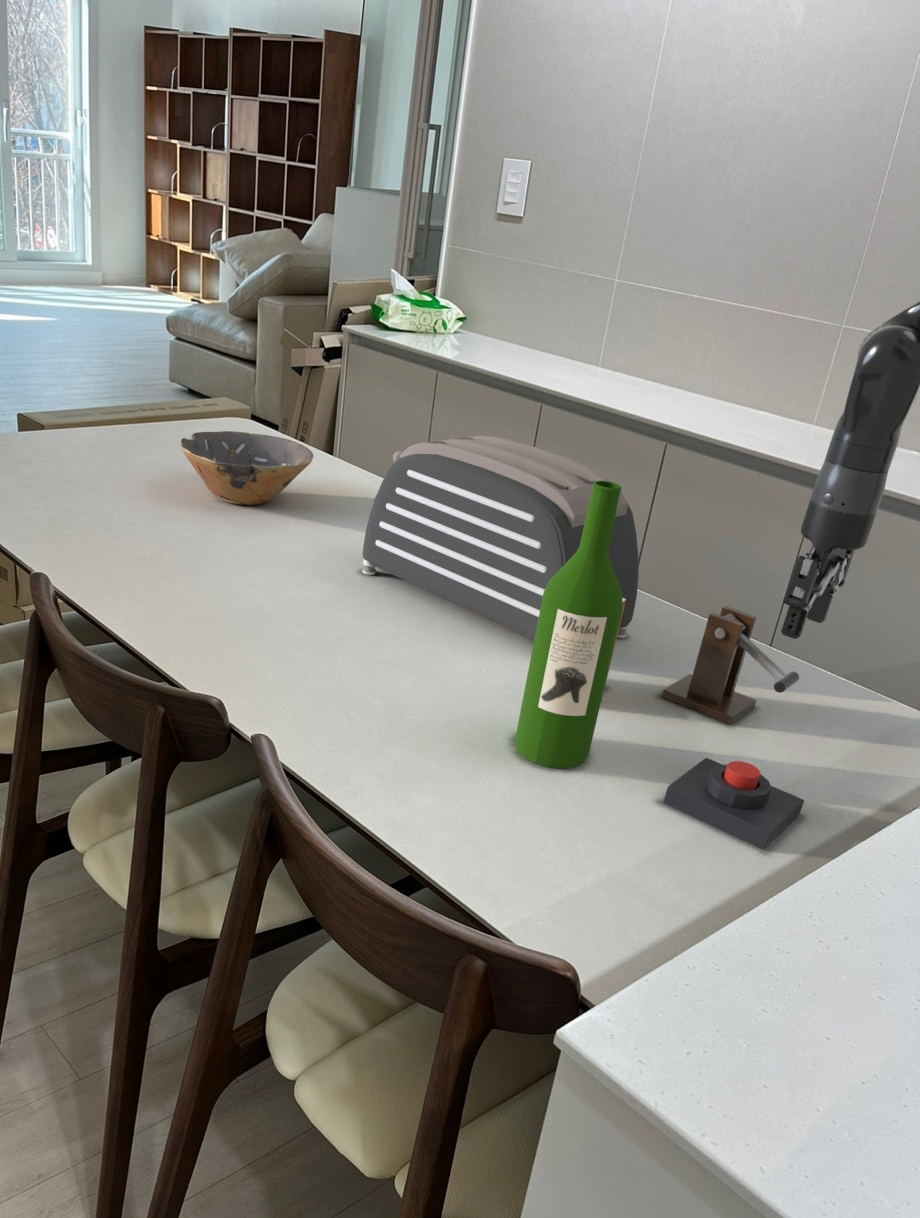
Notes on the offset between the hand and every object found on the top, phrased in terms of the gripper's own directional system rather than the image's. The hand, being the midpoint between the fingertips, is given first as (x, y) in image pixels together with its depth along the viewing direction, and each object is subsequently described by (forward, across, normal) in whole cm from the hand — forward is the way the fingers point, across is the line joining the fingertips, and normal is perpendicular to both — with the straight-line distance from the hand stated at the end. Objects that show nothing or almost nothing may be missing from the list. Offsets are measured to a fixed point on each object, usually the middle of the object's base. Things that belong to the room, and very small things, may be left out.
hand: (802, 628), depth 132 cm
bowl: (+15, +7, +108) cm, 109 cm away
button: (+11, -24, -5) cm, 27 cm away
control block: (+14, -24, -5) cm, 28 cm away
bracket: (+14, 0, +9) cm, 17 cm away
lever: (+6, 0, +5) cm, 8 cm away
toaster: (+15, +4, +50) cm, 52 cm away
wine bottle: (+15, -29, +16) cm, 36 cm away
